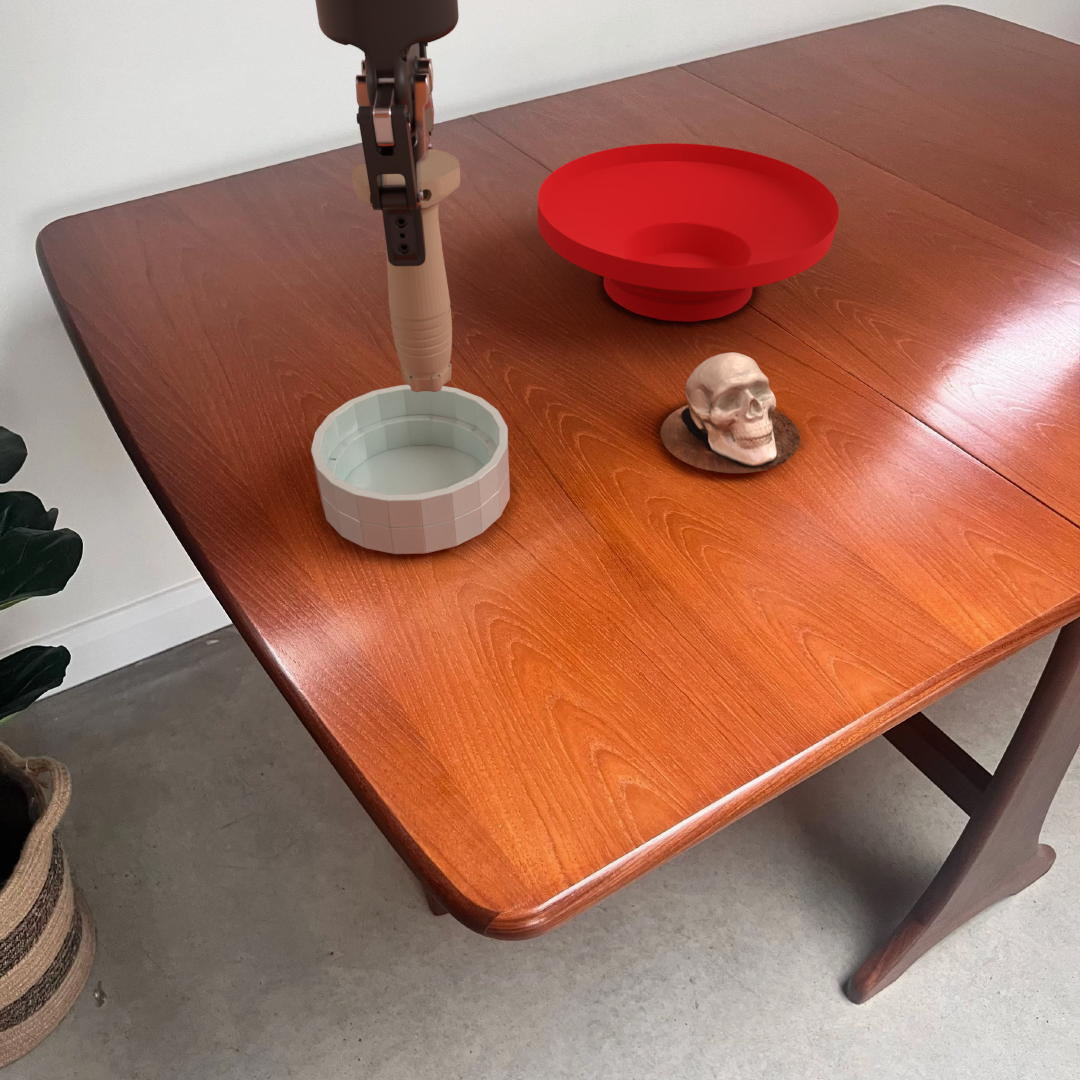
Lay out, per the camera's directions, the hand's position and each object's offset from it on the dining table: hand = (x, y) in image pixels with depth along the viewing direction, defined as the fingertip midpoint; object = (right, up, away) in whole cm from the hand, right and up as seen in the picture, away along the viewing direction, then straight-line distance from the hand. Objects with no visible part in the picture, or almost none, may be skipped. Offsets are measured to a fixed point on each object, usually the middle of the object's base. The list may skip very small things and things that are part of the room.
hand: (412, 239), depth 65 cm
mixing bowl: (-2, -15, +22) cm, 27 cm away
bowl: (+23, +9, +48) cm, 54 cm away
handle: (0, -8, +7) cm, 11 cm away
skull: (+25, -10, +27) cm, 38 cm away
